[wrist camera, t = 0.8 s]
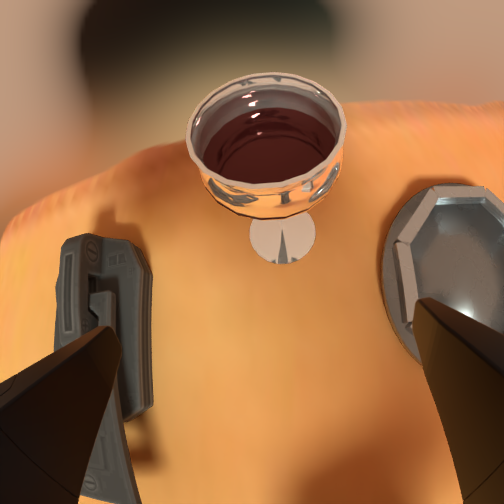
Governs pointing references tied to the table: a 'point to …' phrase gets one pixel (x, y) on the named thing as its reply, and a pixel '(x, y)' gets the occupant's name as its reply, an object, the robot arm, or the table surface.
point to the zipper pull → (129, 335)
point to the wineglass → (270, 156)
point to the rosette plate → (445, 257)
